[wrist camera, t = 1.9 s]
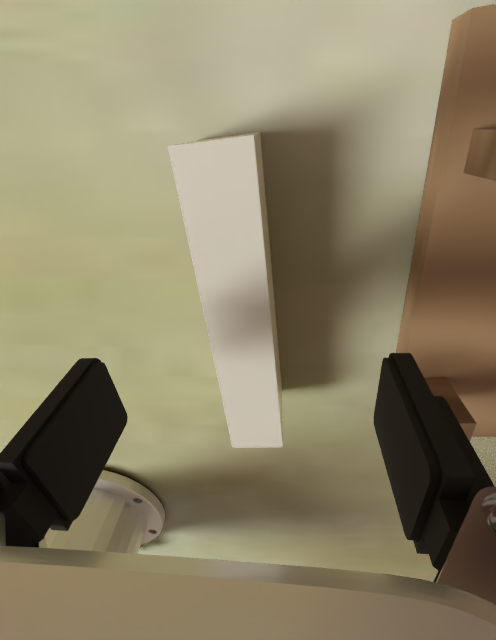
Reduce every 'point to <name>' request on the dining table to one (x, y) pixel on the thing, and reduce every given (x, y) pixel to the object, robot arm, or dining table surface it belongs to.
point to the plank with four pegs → (459, 235)
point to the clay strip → (234, 278)
